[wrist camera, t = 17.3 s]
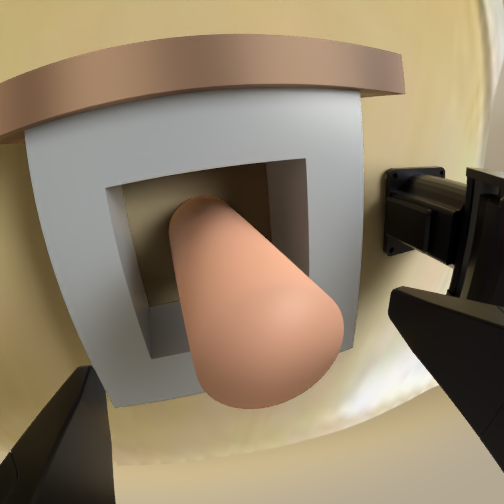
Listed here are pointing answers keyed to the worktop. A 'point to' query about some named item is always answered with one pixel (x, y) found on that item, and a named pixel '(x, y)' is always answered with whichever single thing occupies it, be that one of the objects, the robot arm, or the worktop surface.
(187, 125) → the socket block
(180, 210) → the dowel
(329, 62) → the walnut wall
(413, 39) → the worktop surface
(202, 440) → the worktop surface
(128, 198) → the worktop surface
